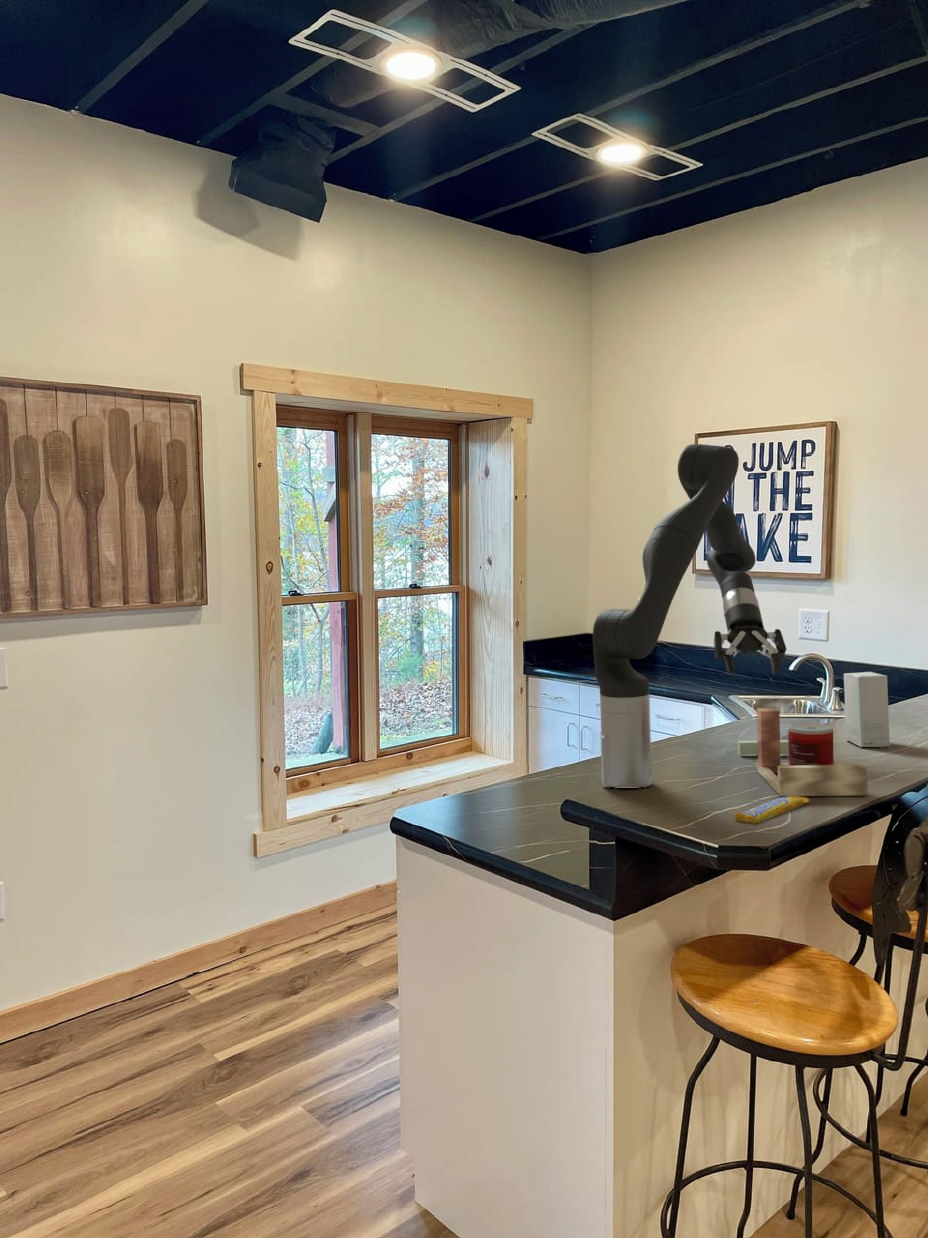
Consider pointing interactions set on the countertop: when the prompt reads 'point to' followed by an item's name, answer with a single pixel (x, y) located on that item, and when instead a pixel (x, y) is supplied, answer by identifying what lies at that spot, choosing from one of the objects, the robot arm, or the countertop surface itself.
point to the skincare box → (867, 709)
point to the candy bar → (771, 809)
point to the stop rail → (752, 747)
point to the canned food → (810, 744)
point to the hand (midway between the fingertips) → (754, 672)
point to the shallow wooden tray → (802, 766)
